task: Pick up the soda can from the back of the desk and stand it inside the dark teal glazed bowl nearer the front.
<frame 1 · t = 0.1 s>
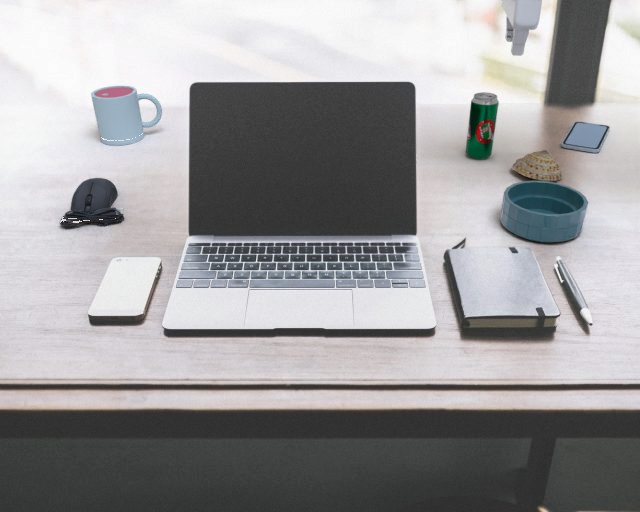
hand: (513, 47, 101), 23 cm above the table, tool pointing down, fingers open, 8 cm apart
seashell: (535, 175, 114), on the table
mug: (133, 137, 134), on the table
bowl: (539, 225, 97), on the table
smartphone: (585, 139, 129), on the table
soda can: (477, 156, 122), on the table
computer mouse: (98, 208, 106), on the table
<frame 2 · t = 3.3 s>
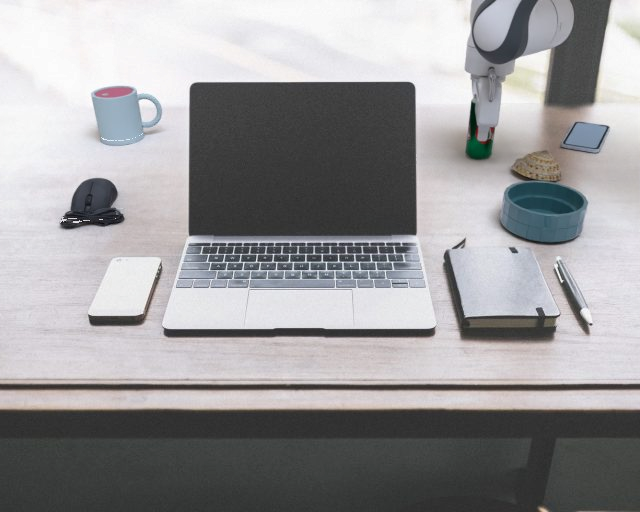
hand: (480, 133, 120), 5 cm above the table, tool pointing down, fingers closed on soda can, 5 cm apart
soda can: (477, 156, 122), on the table, touching gripper
everything else where it was.
when the fingers open (5 cm above the table, at t = 12.9 s): soda can stays where it is, resting on bowl.
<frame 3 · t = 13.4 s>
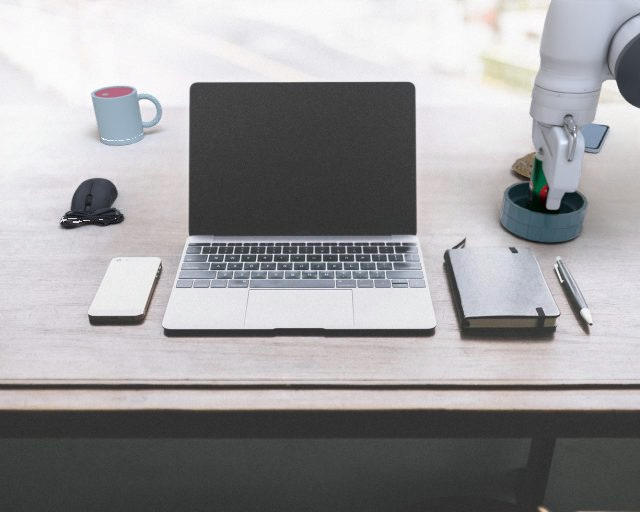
hand: (546, 193, 94), 6 cm above the table, tool pointing down, fingers open, 8 cm apart
soda can: (539, 223, 97), resting on bowl
everything else where it was.
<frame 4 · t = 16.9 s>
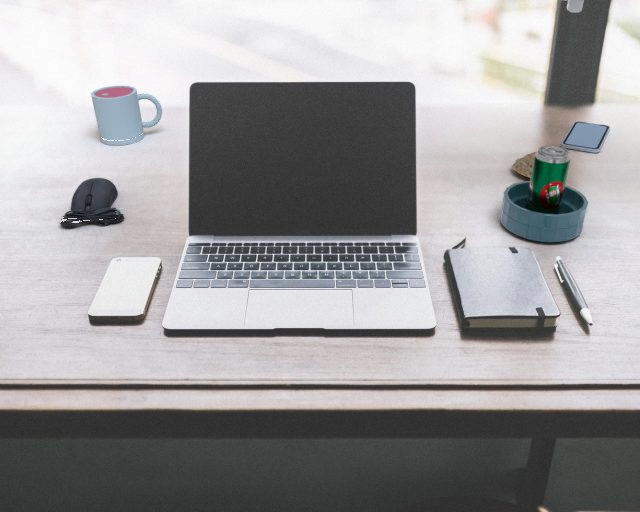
hand: (567, 5, 89), 31 cm above the table, tool pointing down, fingers open, 8 cm apart
nothing on the table moved.
at the end: soda can inside the target area in the bowl (0.1 cm from its centre), point 0.4 cm above the bowl's base; soda can tilted 0°; the gripper is holding nothing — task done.
